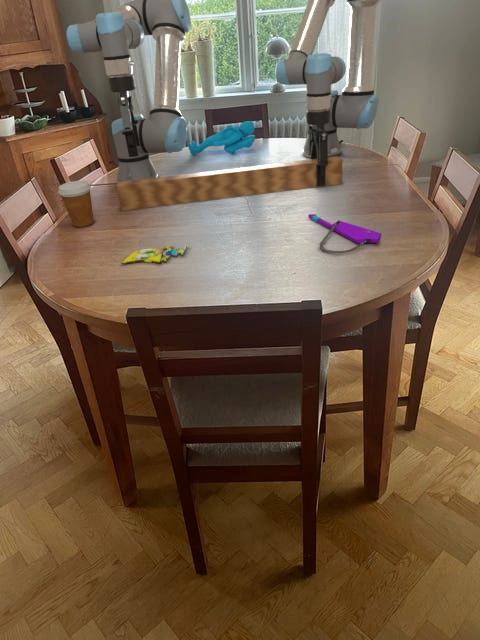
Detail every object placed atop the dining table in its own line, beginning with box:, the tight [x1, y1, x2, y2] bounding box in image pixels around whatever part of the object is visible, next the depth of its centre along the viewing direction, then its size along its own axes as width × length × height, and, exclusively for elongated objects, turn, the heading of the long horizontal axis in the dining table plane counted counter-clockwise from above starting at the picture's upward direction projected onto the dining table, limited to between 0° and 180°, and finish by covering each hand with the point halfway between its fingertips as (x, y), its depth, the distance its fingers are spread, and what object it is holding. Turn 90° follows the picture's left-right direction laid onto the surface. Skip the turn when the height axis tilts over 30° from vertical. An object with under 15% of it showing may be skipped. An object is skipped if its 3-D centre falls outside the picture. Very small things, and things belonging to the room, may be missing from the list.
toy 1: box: [121, 245, 188, 265], centre depth 125 cm, size 10×1×15 cm
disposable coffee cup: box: [58, 180, 95, 228], centre depth 147 cm, size 10×10×12 cm
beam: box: [115, 155, 344, 212], centre depth 160 cm, size 74×4×8 cm, turn 98°
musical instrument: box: [308, 213, 382, 254], centre depth 126 cm, size 24×2×20 cm
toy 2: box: [187, 120, 256, 156], centre depth 208 cm, size 17×11×30 cm
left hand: (134, 151), depth 150 cm, fingers open, 13 cm apart
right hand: (317, 181), depth 164 cm, fingers open, 7 cm apart
